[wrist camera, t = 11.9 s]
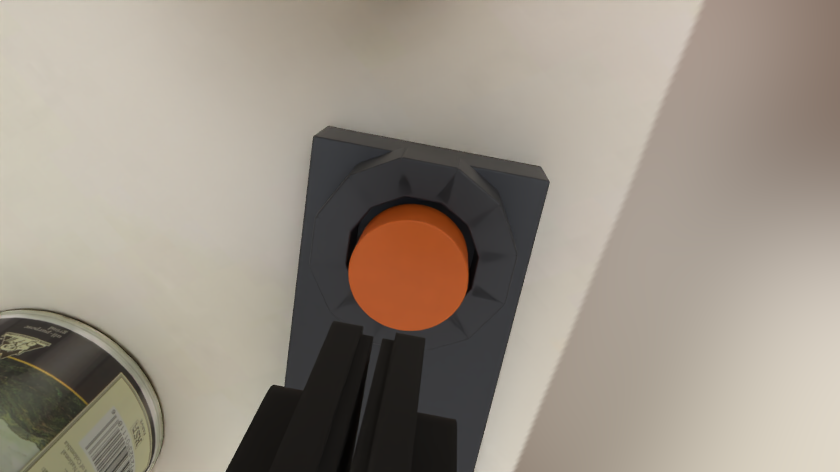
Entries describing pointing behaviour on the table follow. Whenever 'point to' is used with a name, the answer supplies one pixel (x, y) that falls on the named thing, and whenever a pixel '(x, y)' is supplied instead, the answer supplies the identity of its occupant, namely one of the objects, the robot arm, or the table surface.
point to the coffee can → (72, 399)
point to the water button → (487, 263)
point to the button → (409, 268)
